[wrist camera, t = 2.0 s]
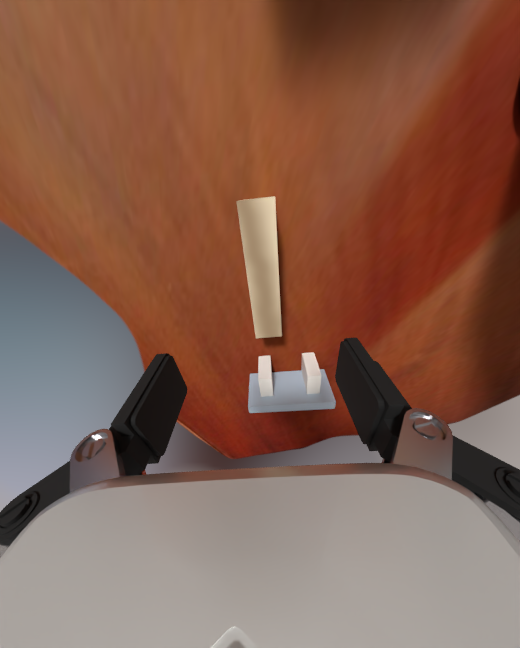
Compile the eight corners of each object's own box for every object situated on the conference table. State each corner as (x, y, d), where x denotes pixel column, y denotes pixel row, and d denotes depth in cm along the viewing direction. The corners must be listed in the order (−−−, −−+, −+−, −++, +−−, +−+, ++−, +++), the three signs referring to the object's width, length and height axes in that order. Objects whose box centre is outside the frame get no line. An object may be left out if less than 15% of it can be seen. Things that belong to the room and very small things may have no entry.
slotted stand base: (247, 357, 40) (244, 389, 33) (325, 351, 39) (339, 383, 32) (251, 379, 44) (249, 413, 37) (323, 375, 43) (334, 408, 36)
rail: (272, 196, 25) (275, 196, 20) (279, 316, 35) (282, 336, 30) (241, 200, 25) (235, 201, 20) (256, 318, 35) (255, 338, 30)
